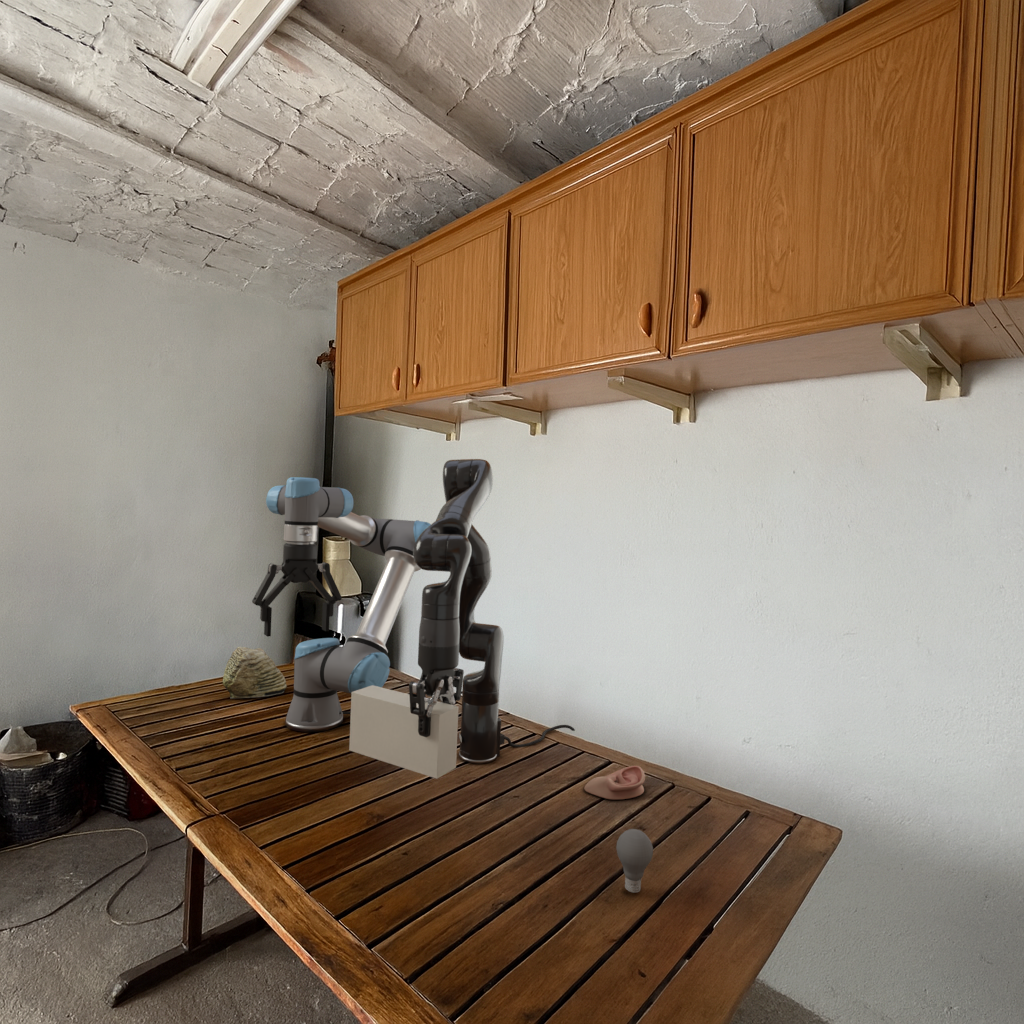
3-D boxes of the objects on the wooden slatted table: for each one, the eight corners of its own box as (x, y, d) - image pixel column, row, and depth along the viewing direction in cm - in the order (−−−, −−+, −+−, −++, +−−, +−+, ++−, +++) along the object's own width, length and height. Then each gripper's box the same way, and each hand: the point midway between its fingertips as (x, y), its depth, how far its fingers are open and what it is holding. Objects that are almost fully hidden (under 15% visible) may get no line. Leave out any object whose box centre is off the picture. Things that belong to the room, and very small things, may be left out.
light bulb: (610, 879, 108) (613, 822, 108) (644, 879, 109) (647, 822, 109) (619, 902, 102) (622, 840, 102) (655, 901, 103) (658, 840, 103)
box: (349, 750, 125) (351, 692, 125) (370, 741, 130) (372, 685, 130) (436, 779, 114) (439, 715, 114) (456, 767, 119) (458, 706, 119)
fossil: (218, 695, 195) (220, 647, 195) (278, 685, 208) (279, 640, 207) (228, 703, 189) (230, 653, 188) (289, 692, 201) (290, 645, 201)
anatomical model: (583, 778, 139) (588, 757, 150) (582, 795, 139) (587, 774, 150) (645, 786, 136) (645, 764, 147) (644, 804, 136) (644, 781, 148)
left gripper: (248, 544, 139) (245, 640, 139) (357, 543, 153) (353, 631, 154) (240, 541, 145) (237, 634, 145) (345, 541, 159) (342, 625, 160)
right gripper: (431, 651, 109) (427, 747, 110) (477, 637, 122) (473, 724, 122) (397, 644, 113) (394, 737, 114) (445, 631, 126) (442, 715, 126)
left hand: (297, 632), depth 149 cm, fingers open, 13 cm apart
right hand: (435, 730), depth 118 cm, fingers closed on box, 6 cm apart
